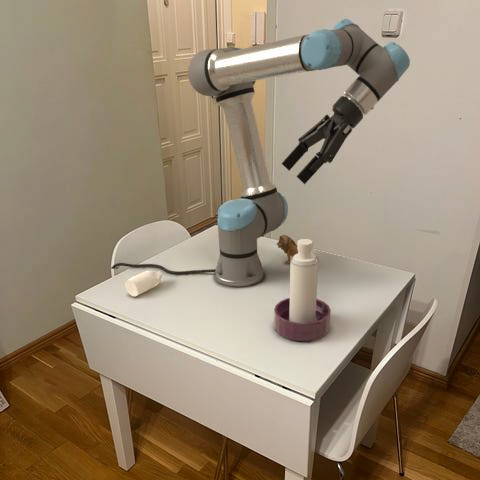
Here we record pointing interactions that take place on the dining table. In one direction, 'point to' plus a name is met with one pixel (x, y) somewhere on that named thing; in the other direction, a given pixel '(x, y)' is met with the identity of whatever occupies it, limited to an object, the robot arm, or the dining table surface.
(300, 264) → the spray bottle
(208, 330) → the dining table surface
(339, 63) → the robot arm
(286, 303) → the bowl
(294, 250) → the lion figurine
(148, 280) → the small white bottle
